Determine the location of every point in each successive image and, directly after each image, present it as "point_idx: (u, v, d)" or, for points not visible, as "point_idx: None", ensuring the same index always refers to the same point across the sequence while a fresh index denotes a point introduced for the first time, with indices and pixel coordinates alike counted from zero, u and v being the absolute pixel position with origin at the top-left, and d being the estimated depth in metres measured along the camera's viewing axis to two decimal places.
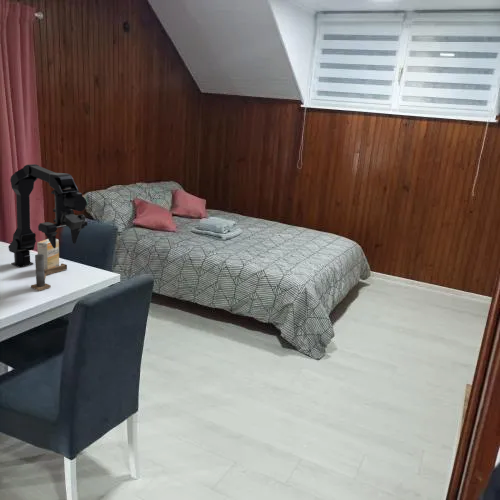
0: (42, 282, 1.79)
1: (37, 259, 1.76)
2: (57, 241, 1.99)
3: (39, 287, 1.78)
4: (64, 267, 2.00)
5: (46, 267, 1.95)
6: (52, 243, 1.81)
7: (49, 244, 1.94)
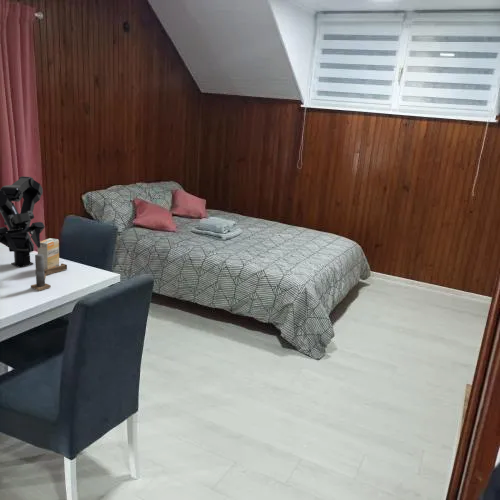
0: (42, 282, 1.79)
1: (37, 259, 1.76)
2: (57, 241, 1.99)
3: (39, 287, 1.78)
4: (64, 267, 2.00)
5: (46, 267, 1.95)
6: (12, 247, 1.77)
7: (49, 244, 1.94)
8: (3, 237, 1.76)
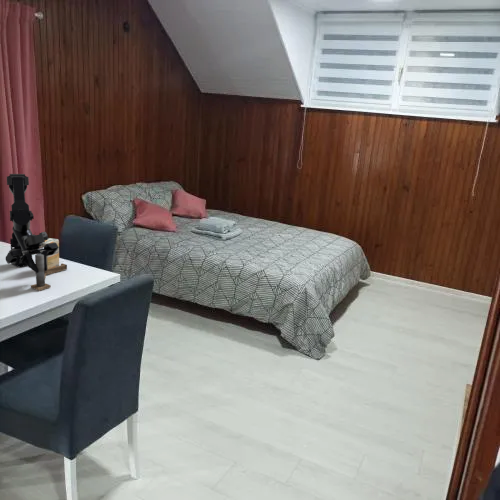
0: (42, 282, 1.79)
1: (37, 259, 1.76)
2: (57, 241, 1.99)
3: (39, 287, 1.78)
4: (64, 267, 2.00)
5: None
6: (33, 268, 1.76)
7: None
8: (25, 258, 1.75)
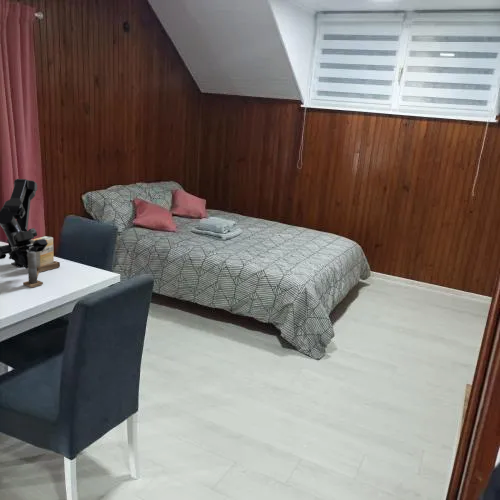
0: (34, 279, 1.81)
1: (29, 256, 1.78)
2: (51, 239, 2.00)
3: (31, 284, 1.80)
4: (57, 264, 2.02)
5: (39, 265, 1.97)
6: (23, 264, 1.80)
7: None
8: (14, 253, 1.78)
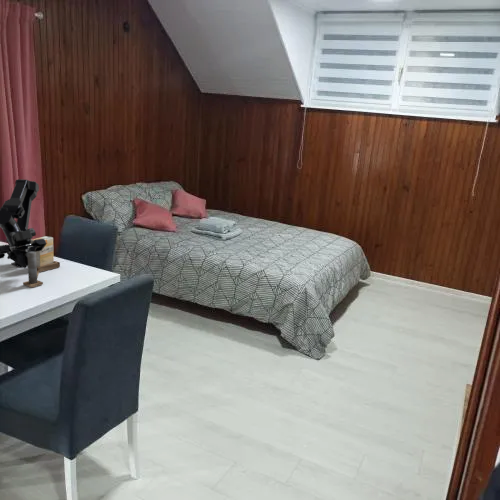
0: (34, 279, 1.81)
1: (29, 256, 1.78)
2: (51, 239, 2.00)
3: (31, 284, 1.80)
4: (57, 265, 2.02)
5: (39, 265, 1.97)
6: (21, 263, 1.80)
7: None
8: (12, 253, 1.79)
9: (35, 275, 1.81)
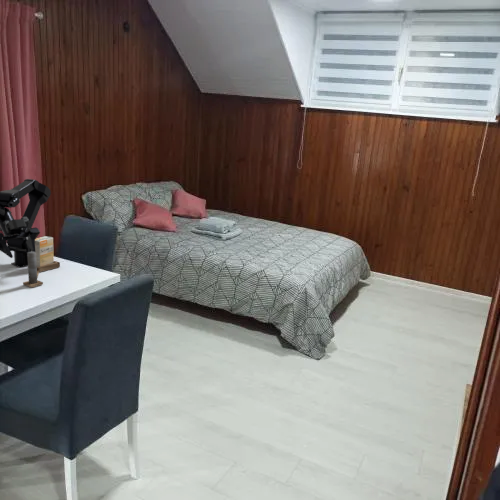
0: (34, 279, 1.81)
1: (29, 256, 1.78)
2: (51, 239, 2.00)
3: (31, 284, 1.80)
4: (57, 265, 2.02)
5: (39, 265, 1.97)
6: (7, 253, 1.79)
7: (42, 242, 1.95)
8: None
9: (35, 275, 1.81)
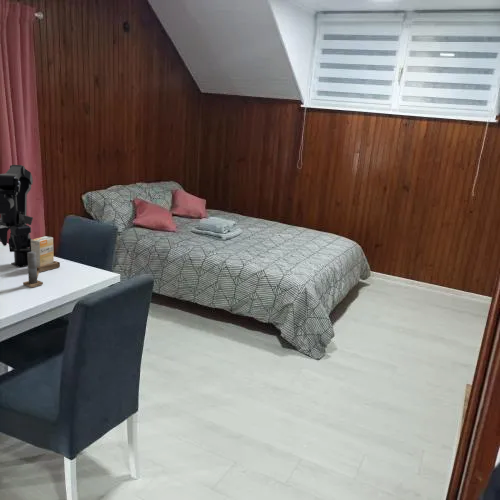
0: (34, 279, 1.81)
1: (29, 256, 1.78)
2: (51, 239, 2.00)
3: (31, 284, 1.80)
4: (57, 265, 2.02)
5: (39, 265, 1.97)
6: (19, 245, 1.79)
7: (42, 242, 1.95)
8: None
9: (35, 275, 1.81)
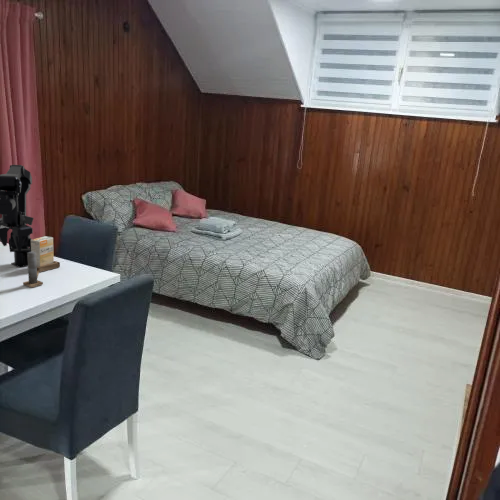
0: (34, 279, 1.81)
1: (29, 256, 1.78)
2: (51, 239, 2.00)
3: (31, 284, 1.80)
4: (57, 265, 2.02)
5: (39, 265, 1.97)
6: (20, 246, 1.79)
7: (42, 242, 1.95)
8: None
9: (35, 275, 1.81)
